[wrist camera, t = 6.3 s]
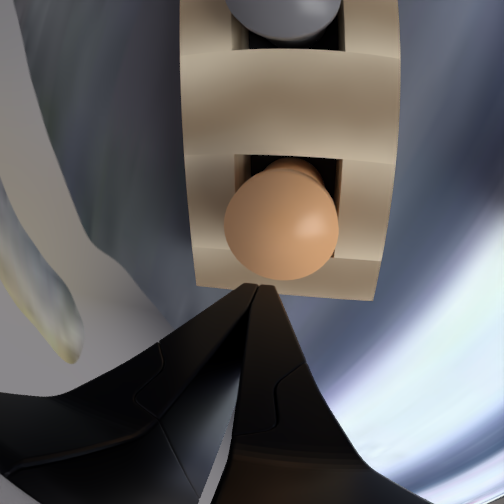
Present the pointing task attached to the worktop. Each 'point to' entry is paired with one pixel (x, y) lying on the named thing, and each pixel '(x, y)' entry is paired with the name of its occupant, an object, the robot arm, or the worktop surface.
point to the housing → (291, 134)
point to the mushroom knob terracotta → (282, 221)
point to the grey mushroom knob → (286, 19)
